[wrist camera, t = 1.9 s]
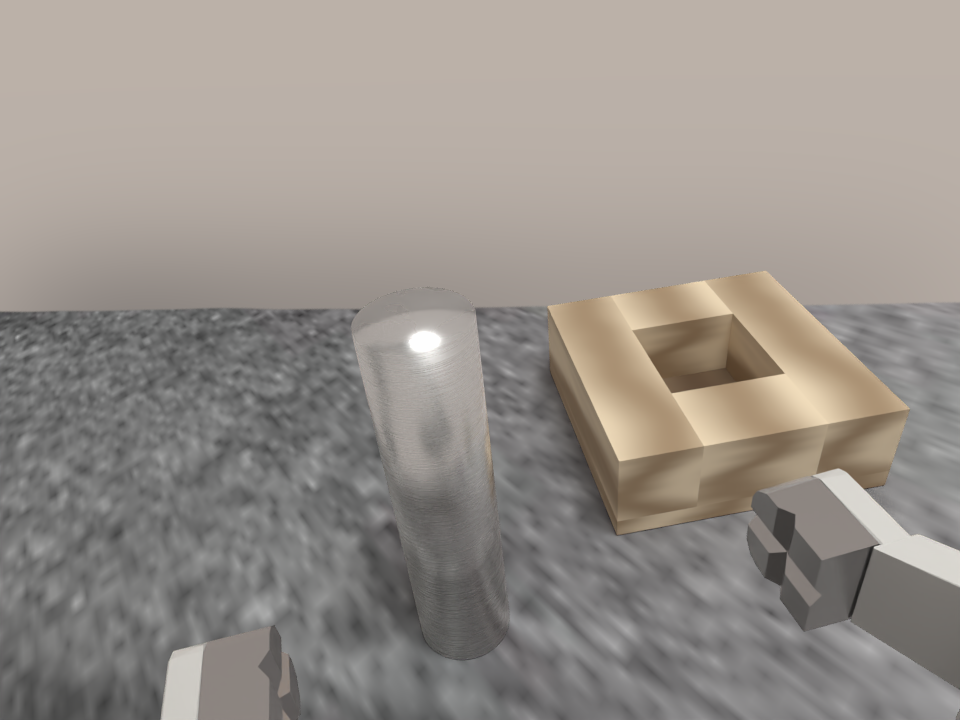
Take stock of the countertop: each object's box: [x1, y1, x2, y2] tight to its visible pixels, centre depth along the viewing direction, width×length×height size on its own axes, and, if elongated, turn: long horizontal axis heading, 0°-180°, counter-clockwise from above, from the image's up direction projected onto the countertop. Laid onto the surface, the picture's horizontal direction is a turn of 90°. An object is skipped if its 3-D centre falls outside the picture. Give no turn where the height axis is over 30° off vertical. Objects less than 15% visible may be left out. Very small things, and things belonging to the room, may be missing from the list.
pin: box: [351, 287, 510, 660], centre depth 27 cm, size 4×4×16 cm
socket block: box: [547, 271, 910, 535], centre depth 40 cm, size 14×14×5 cm
